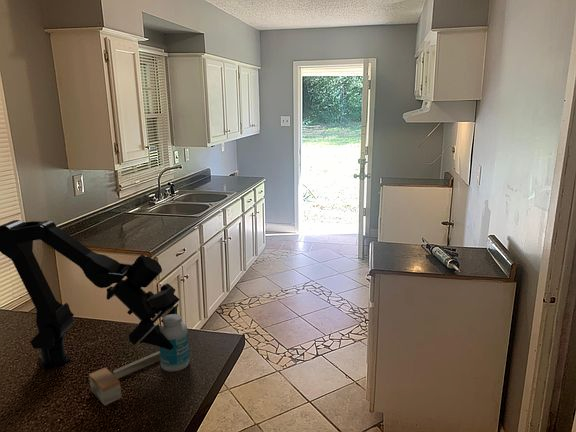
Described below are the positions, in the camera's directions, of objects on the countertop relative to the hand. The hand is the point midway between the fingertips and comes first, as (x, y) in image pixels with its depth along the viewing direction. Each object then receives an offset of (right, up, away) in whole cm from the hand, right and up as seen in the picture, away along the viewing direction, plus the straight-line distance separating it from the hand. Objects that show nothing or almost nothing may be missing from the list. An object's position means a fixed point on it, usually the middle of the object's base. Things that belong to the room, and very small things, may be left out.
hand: (178, 340), depth 113 cm
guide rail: (-10, -7, +1) cm, 12 cm away
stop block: (-15, -10, -10) cm, 20 cm away
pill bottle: (-1, -7, +2) cm, 7 cm away
